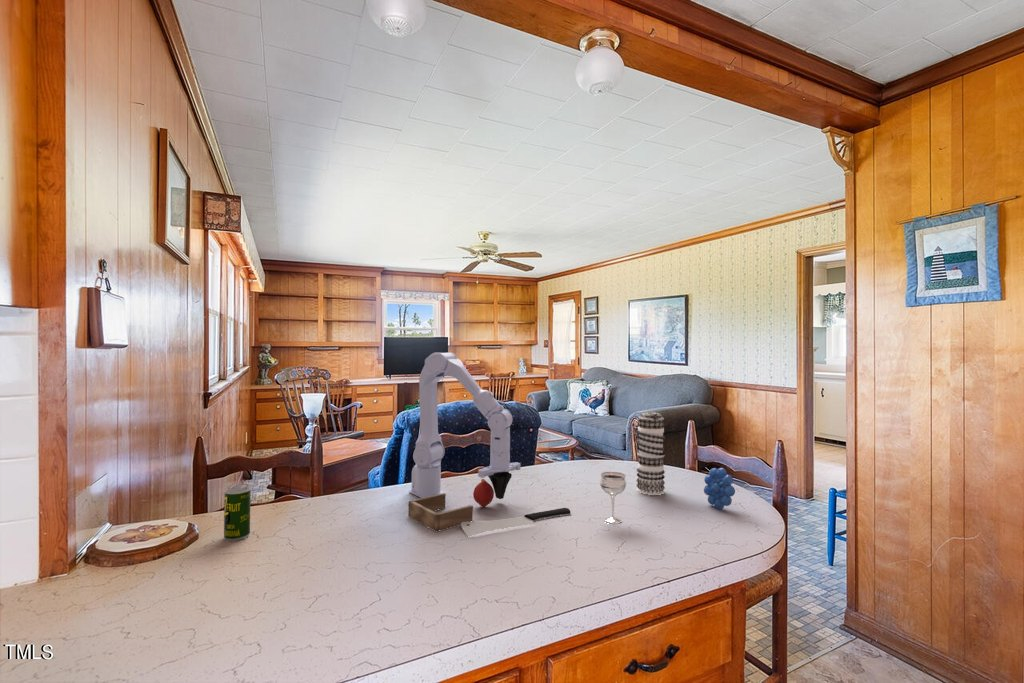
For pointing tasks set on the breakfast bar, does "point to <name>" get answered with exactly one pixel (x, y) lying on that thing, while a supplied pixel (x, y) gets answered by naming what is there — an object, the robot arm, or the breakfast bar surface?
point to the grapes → (719, 488)
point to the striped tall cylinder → (650, 454)
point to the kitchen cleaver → (509, 521)
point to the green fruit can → (237, 512)
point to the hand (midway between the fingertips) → (499, 497)
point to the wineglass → (613, 488)
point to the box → (425, 513)
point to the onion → (483, 493)
